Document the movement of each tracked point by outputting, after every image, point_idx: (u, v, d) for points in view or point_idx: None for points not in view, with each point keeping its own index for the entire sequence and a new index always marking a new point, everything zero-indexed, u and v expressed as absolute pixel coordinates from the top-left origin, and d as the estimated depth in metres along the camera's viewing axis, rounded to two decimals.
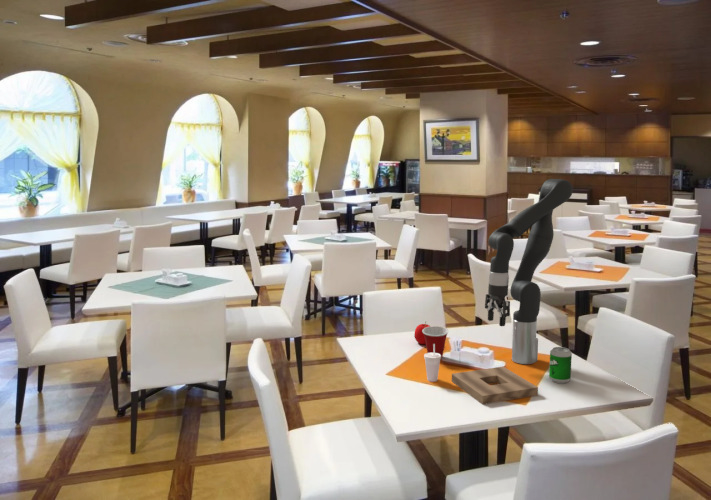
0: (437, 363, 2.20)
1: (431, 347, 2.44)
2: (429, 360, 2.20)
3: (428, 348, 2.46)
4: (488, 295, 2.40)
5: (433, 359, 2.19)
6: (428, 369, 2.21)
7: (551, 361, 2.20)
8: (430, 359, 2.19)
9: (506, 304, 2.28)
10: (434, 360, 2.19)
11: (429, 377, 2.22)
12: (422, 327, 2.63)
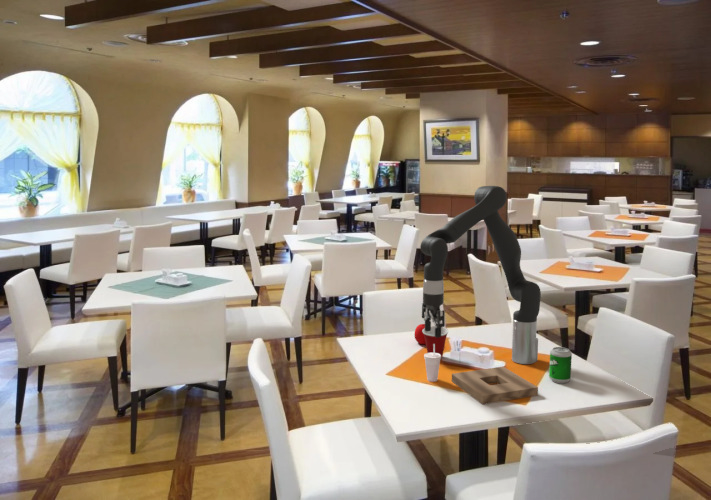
0: (437, 363, 2.20)
1: (431, 347, 2.44)
2: (429, 360, 2.20)
3: (428, 348, 2.46)
4: (424, 304, 2.24)
5: (433, 359, 2.19)
6: (428, 369, 2.21)
7: (551, 361, 2.20)
8: (430, 359, 2.19)
9: (440, 314, 2.13)
10: (434, 360, 2.19)
11: (429, 377, 2.22)
12: (422, 327, 2.63)
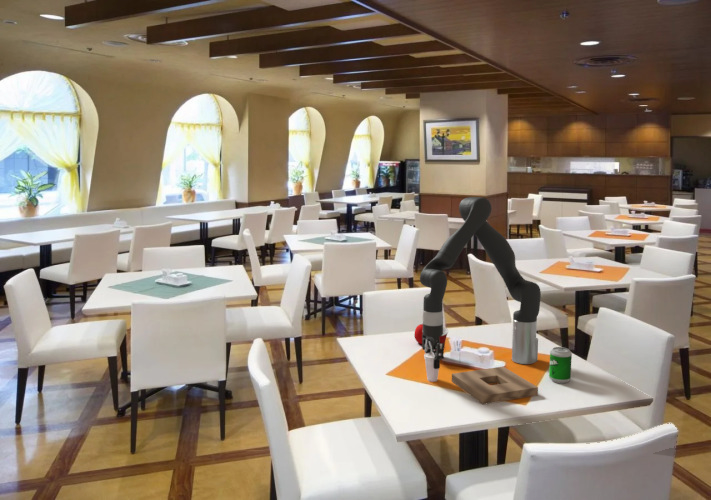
0: None
1: None
2: (429, 360, 2.20)
3: None
4: (424, 335, 2.26)
5: (433, 359, 2.19)
6: (428, 369, 2.21)
7: (551, 361, 2.20)
8: (430, 359, 2.19)
9: (440, 347, 2.15)
10: None
11: (429, 377, 2.22)
12: (422, 327, 2.63)
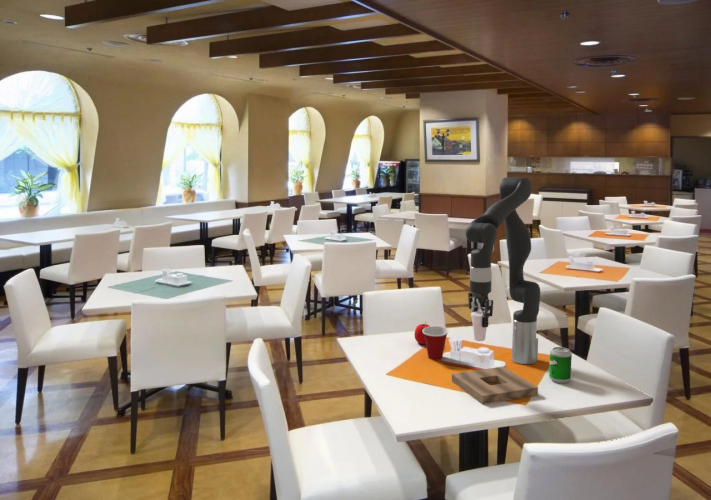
0: None
1: (431, 347, 2.44)
2: (477, 318, 2.11)
3: (428, 348, 2.46)
4: (470, 293, 2.17)
5: (481, 317, 2.10)
6: (475, 328, 2.12)
7: (551, 361, 2.20)
8: (478, 317, 2.10)
9: (489, 304, 2.06)
10: None
11: (476, 336, 2.13)
12: (422, 327, 2.63)
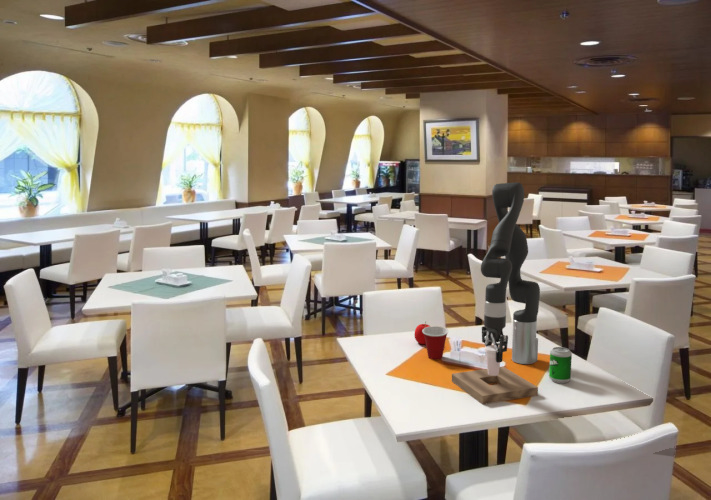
0: None
1: (431, 347, 2.44)
2: (491, 353, 2.10)
3: (428, 348, 2.46)
4: (484, 327, 2.17)
5: (495, 352, 2.10)
6: (489, 363, 2.12)
7: (551, 361, 2.20)
8: (492, 352, 2.10)
9: (504, 339, 2.05)
10: None
11: (490, 371, 2.12)
12: (422, 327, 2.63)
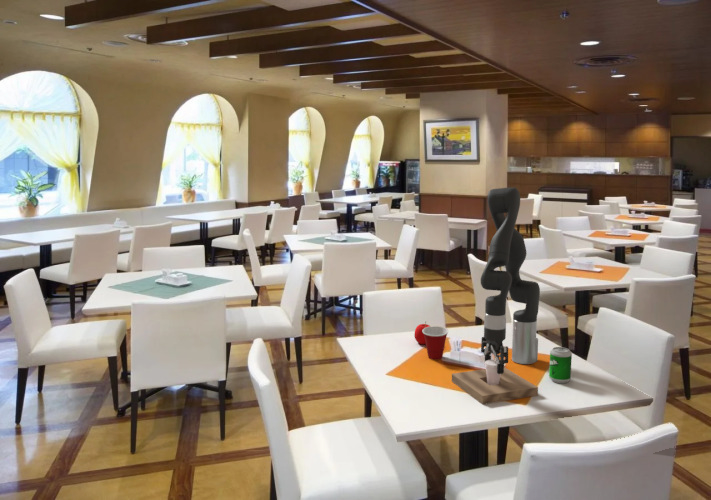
0: None
1: (431, 347, 2.44)
2: (491, 368, 2.11)
3: (428, 348, 2.46)
4: (484, 338, 2.17)
5: (495, 367, 2.11)
6: (489, 377, 2.13)
7: (551, 361, 2.20)
8: (492, 367, 2.11)
9: (504, 350, 2.06)
10: (496, 367, 2.11)
11: None
12: (422, 327, 2.63)
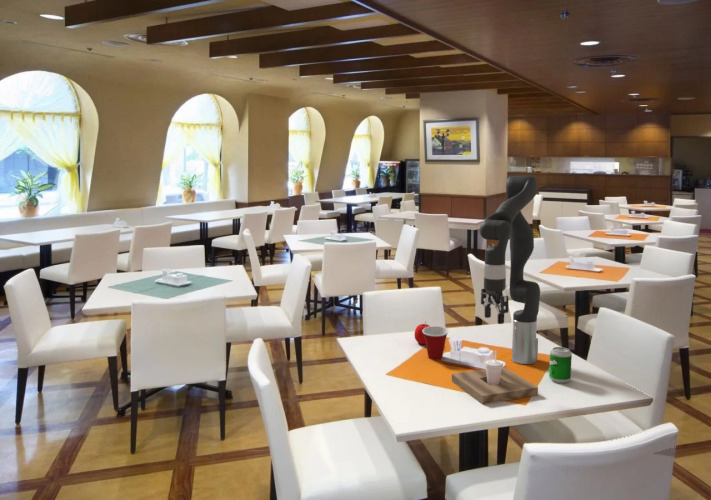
0: (499, 371, 2.12)
1: (431, 347, 2.44)
2: (491, 368, 2.11)
3: (428, 348, 2.46)
4: (484, 290, 2.17)
5: (495, 367, 2.11)
6: (489, 377, 2.13)
7: (551, 361, 2.20)
8: (492, 367, 2.11)
9: (504, 299, 2.05)
10: (496, 367, 2.11)
11: None
12: (422, 327, 2.63)
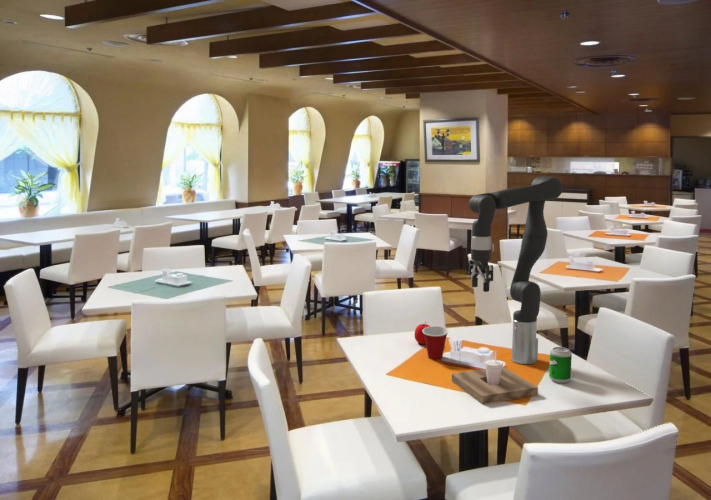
0: (499, 371, 2.12)
1: (431, 347, 2.44)
2: (491, 368, 2.11)
3: (428, 348, 2.46)
4: (471, 261, 2.33)
5: (495, 367, 2.11)
6: (489, 377, 2.13)
7: (551, 361, 2.20)
8: (492, 367, 2.11)
9: (489, 268, 2.21)
10: (496, 367, 2.11)
11: None
12: (422, 327, 2.63)
